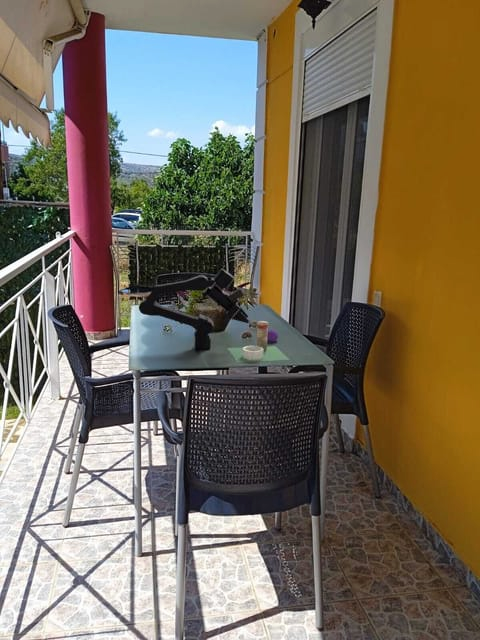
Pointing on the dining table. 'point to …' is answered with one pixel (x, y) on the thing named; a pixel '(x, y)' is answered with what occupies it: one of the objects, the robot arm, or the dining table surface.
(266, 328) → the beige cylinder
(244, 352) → the cup
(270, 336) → the purple faceted ball
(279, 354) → the putting mat
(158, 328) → the dining table surface
